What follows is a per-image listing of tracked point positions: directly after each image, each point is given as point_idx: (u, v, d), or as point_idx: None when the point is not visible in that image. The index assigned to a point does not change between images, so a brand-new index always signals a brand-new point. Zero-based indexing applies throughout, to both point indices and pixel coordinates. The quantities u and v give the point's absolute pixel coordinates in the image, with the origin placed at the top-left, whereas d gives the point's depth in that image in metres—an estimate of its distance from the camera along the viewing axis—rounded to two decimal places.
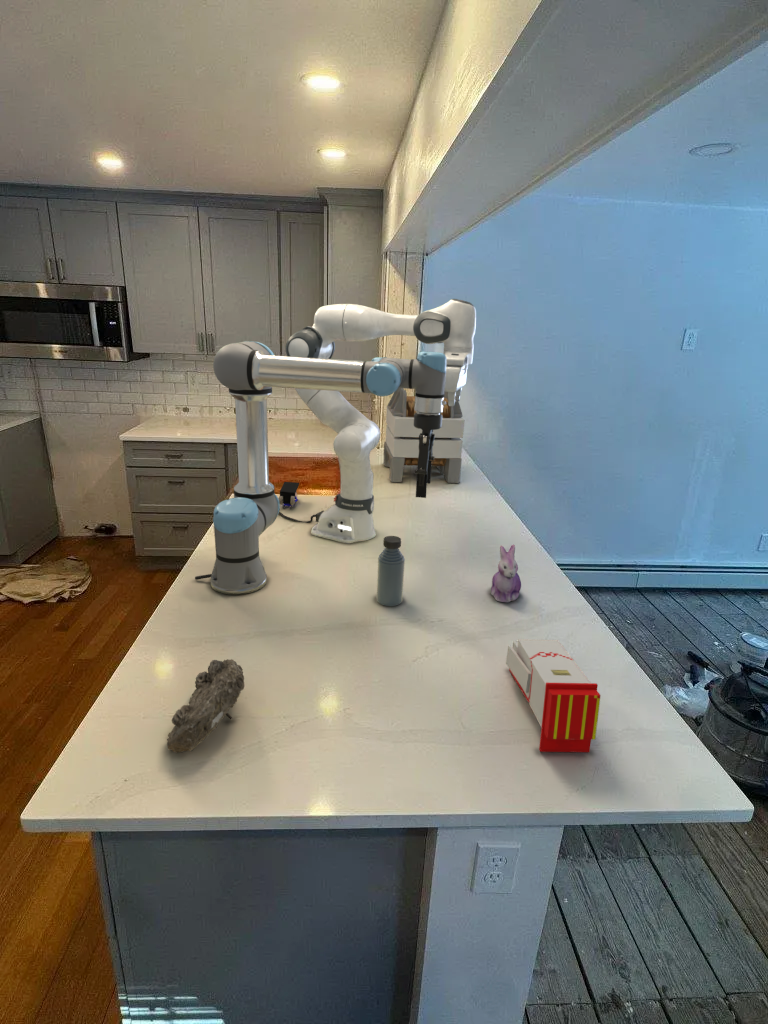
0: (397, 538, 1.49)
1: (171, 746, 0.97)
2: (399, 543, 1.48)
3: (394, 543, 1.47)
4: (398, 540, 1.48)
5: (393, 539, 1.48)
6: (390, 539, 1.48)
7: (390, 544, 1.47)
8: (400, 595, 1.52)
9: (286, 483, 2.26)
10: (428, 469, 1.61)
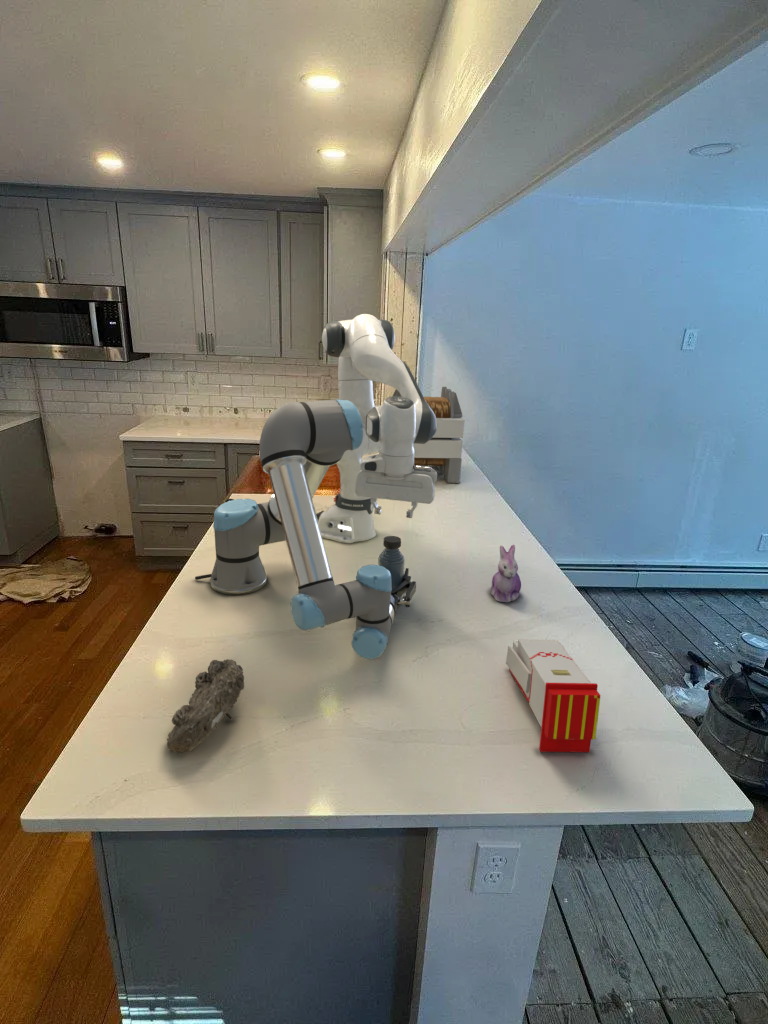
0: (397, 538, 1.49)
1: (171, 746, 0.97)
2: (399, 543, 1.48)
3: (394, 543, 1.47)
4: (398, 540, 1.48)
5: (393, 539, 1.48)
6: (390, 539, 1.48)
7: (390, 544, 1.47)
8: None
9: None
10: None
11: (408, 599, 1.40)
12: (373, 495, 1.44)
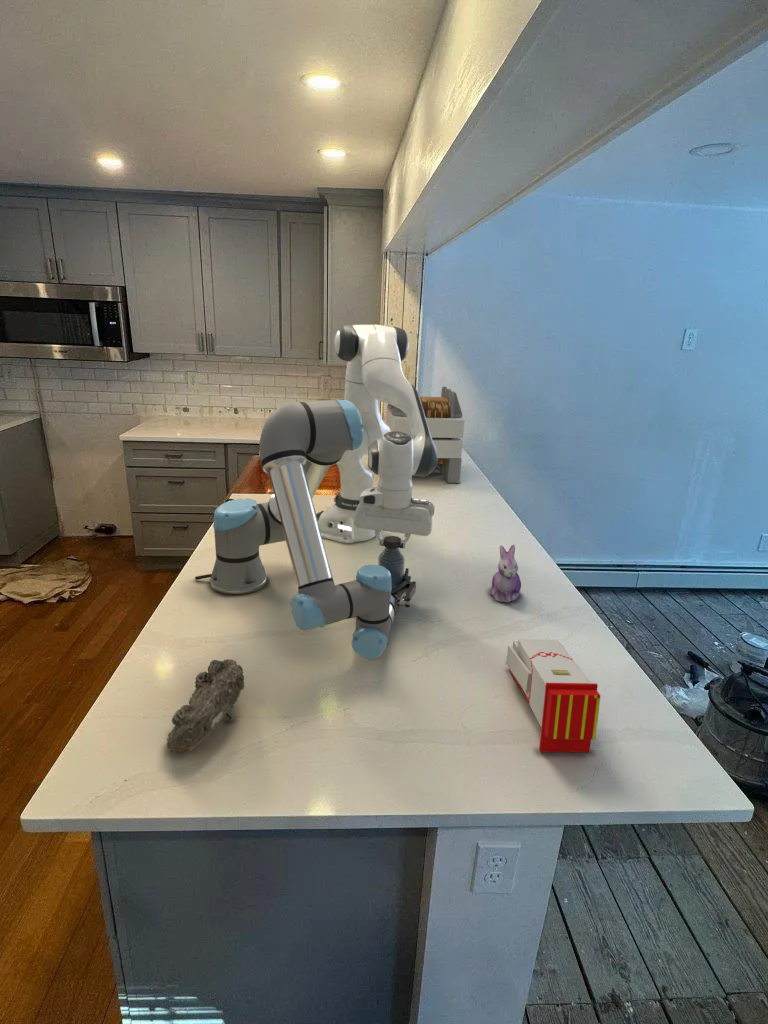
0: (397, 538, 1.49)
1: (171, 746, 0.97)
2: (399, 543, 1.48)
3: (394, 543, 1.47)
4: (398, 540, 1.48)
5: (393, 539, 1.48)
6: (390, 539, 1.48)
7: (390, 544, 1.47)
8: None
9: None
10: None
11: (408, 599, 1.40)
12: (372, 527, 1.47)
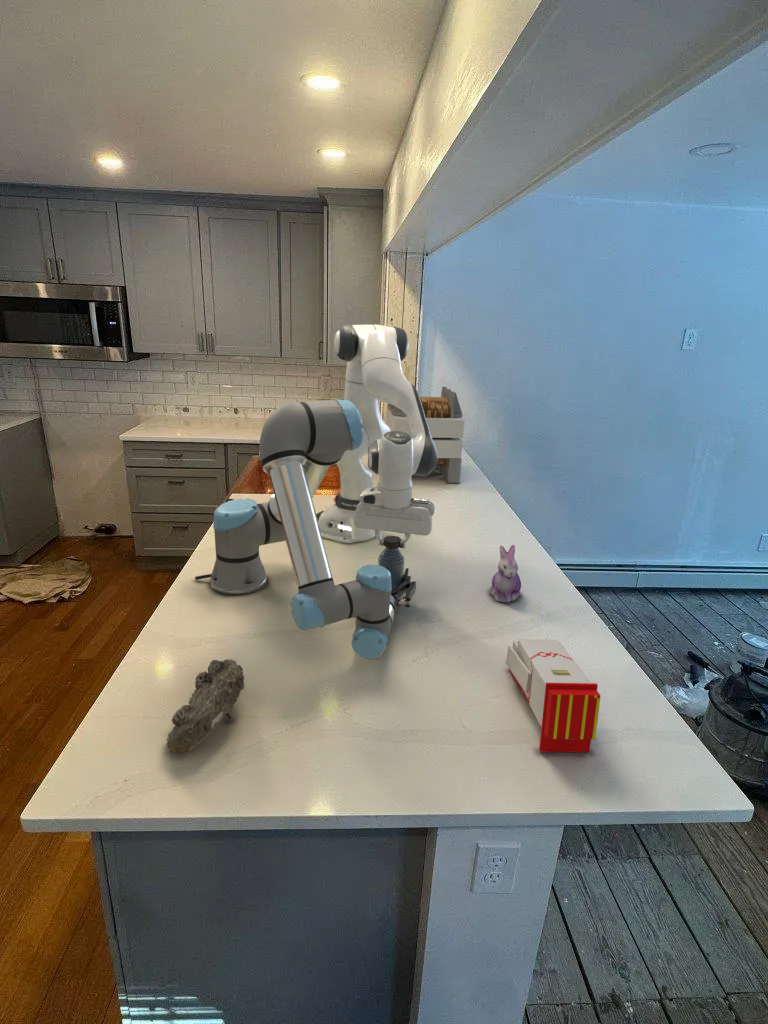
0: (391, 536, 1.50)
1: (171, 746, 0.97)
2: None
3: (400, 539, 1.49)
4: (396, 536, 1.50)
5: (393, 538, 1.49)
6: (393, 539, 1.48)
7: None
8: None
9: None
10: None
11: (408, 599, 1.40)
12: (372, 527, 1.46)
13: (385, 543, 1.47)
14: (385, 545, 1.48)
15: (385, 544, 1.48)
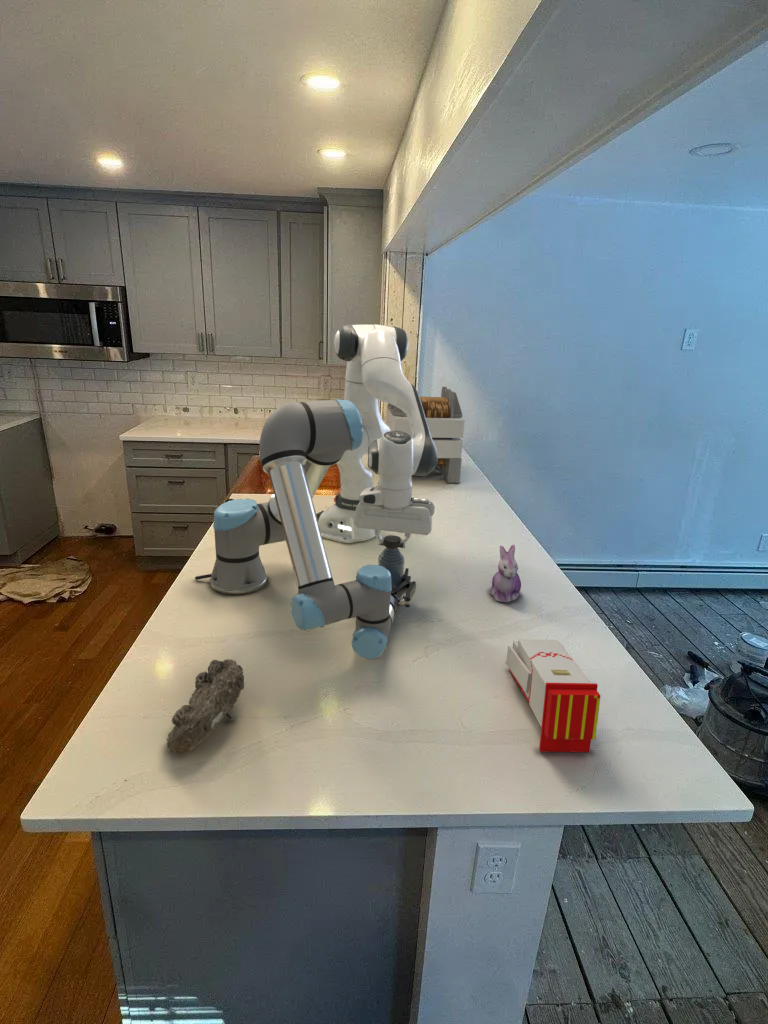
0: (387, 538, 1.48)
1: (171, 746, 0.97)
2: None
3: None
4: (387, 536, 1.50)
5: (391, 537, 1.49)
6: (394, 538, 1.49)
7: None
8: None
9: None
10: None
11: (408, 599, 1.40)
12: (372, 526, 1.46)
13: (396, 544, 1.47)
14: (396, 546, 1.47)
15: (396, 545, 1.47)
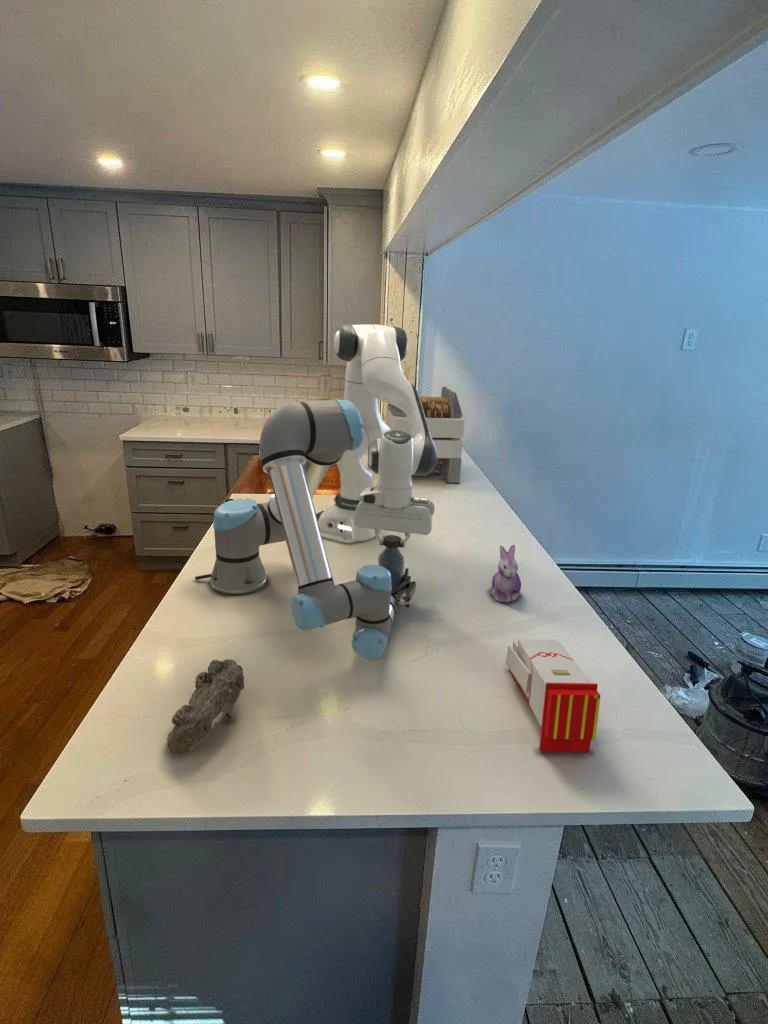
0: (392, 540, 1.47)
1: (171, 746, 0.97)
2: (385, 542, 1.47)
3: None
4: (387, 539, 1.47)
5: (391, 538, 1.48)
6: (391, 537, 1.49)
7: None
8: None
9: None
10: None
11: (408, 599, 1.40)
12: (372, 526, 1.46)
13: None
14: None
15: None
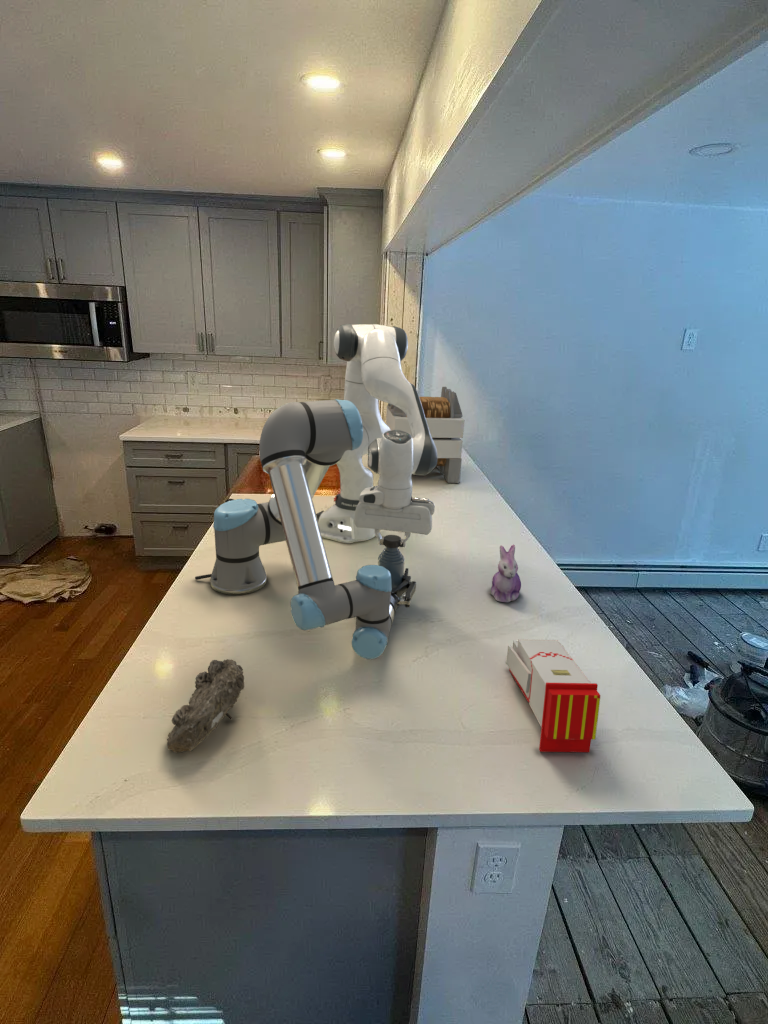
0: (397, 538, 1.48)
1: (171, 746, 0.97)
2: (396, 543, 1.47)
3: (390, 542, 1.46)
4: (396, 540, 1.47)
5: (392, 538, 1.48)
6: (390, 538, 1.48)
7: (386, 542, 1.47)
8: None
9: None
10: None
11: (408, 599, 1.40)
12: (372, 526, 1.46)
13: None
14: None
15: None
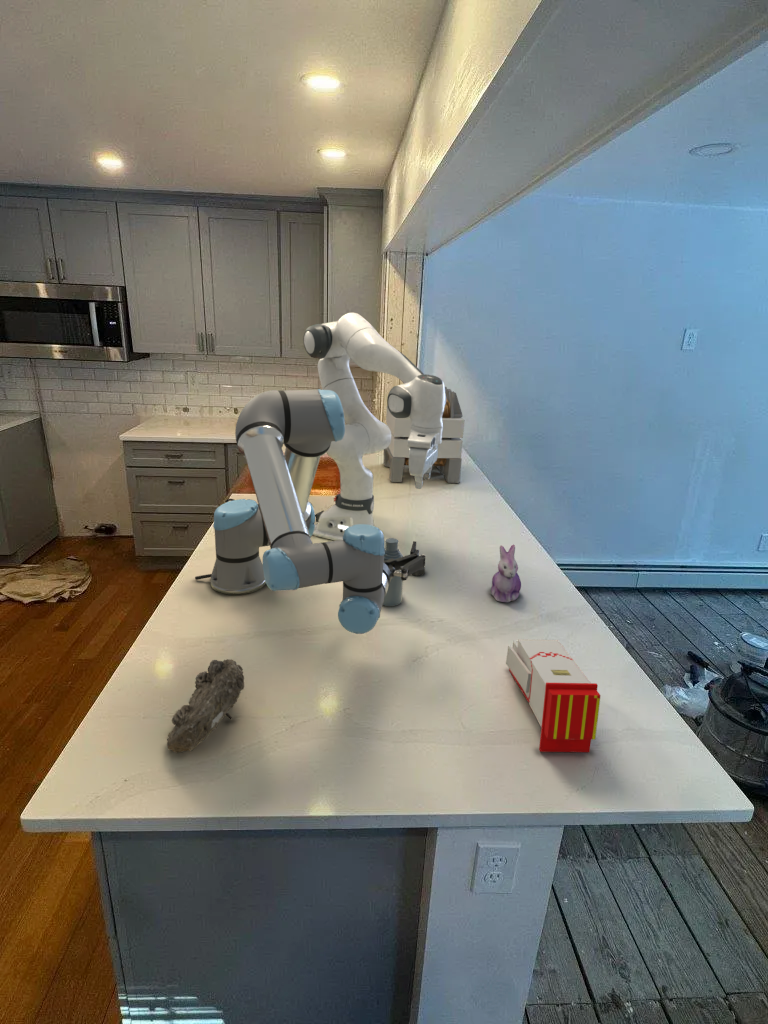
0: None
1: (171, 746, 0.97)
2: None
3: (424, 569, 1.70)
4: None
5: None
6: None
7: (422, 571, 1.69)
8: (400, 595, 1.52)
9: None
10: None
11: (403, 571, 1.21)
12: (426, 470, 1.55)
13: None
14: None
15: None
